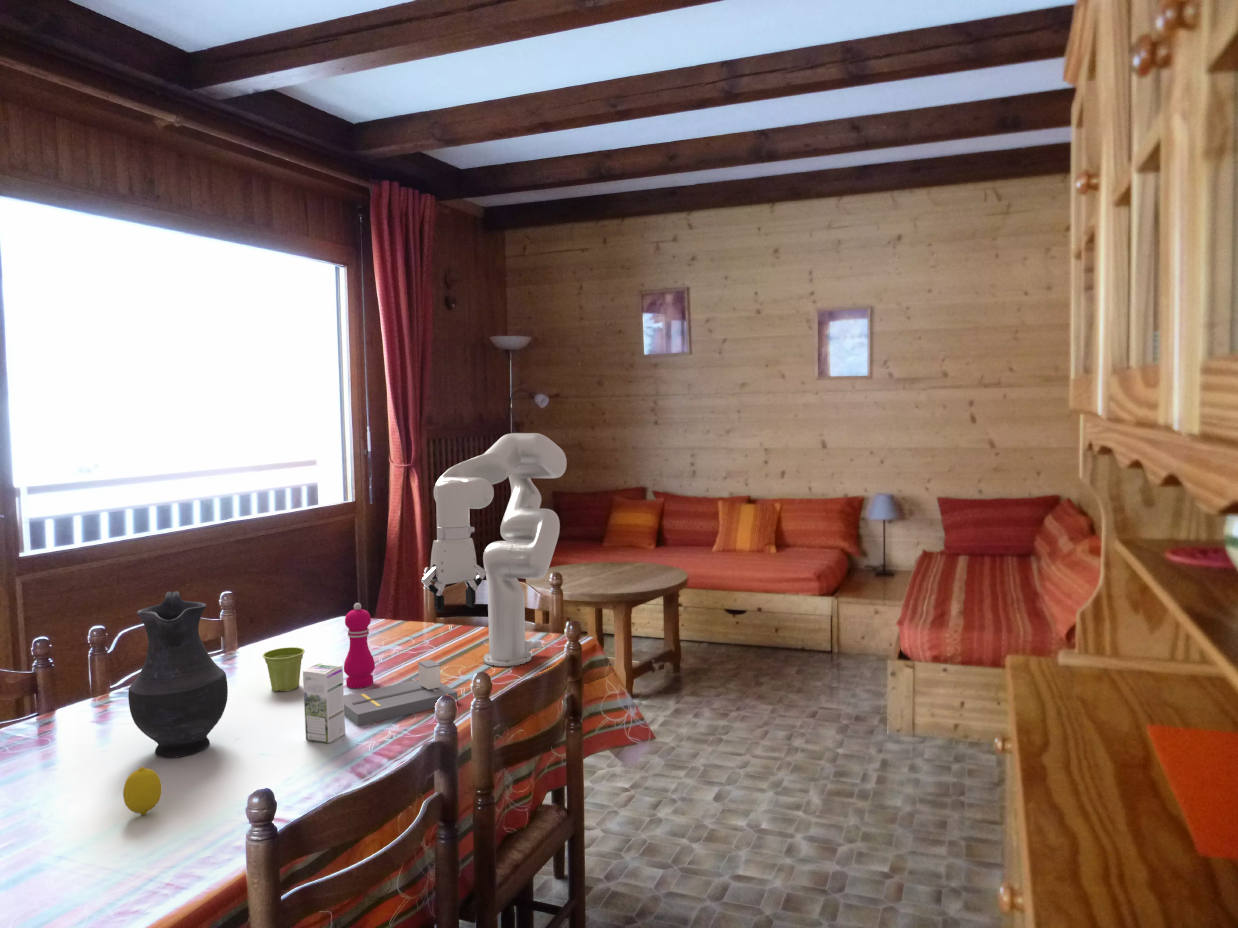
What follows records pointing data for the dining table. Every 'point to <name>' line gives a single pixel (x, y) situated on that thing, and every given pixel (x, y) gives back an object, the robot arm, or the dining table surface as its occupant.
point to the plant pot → (284, 667)
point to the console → (392, 701)
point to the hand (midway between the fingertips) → (455, 608)
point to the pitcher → (177, 680)
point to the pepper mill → (358, 649)
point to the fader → (429, 674)
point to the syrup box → (324, 703)
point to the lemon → (142, 790)
